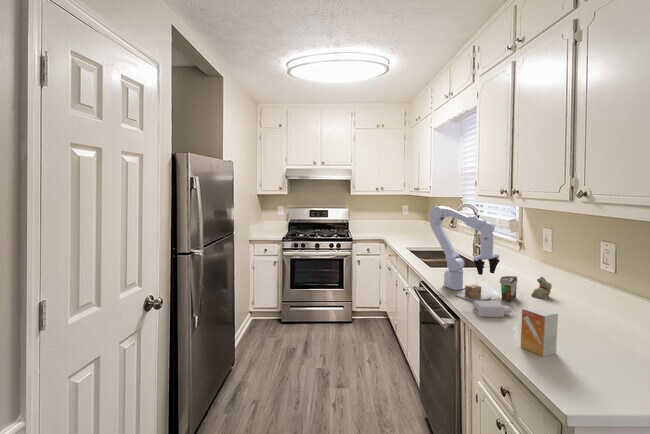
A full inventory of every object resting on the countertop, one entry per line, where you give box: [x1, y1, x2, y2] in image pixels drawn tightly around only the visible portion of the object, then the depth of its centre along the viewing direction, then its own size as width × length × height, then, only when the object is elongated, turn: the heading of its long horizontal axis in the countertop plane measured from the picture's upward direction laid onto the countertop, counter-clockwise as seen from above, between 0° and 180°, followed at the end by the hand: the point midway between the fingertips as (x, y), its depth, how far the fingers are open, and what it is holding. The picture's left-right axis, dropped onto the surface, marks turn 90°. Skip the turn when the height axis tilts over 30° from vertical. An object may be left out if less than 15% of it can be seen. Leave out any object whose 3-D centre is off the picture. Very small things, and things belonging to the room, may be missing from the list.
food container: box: [499, 275, 518, 303], centre depth 175 cm, size 12×6×10 cm, turn 141°
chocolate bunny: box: [530, 275, 553, 299], centre depth 178 cm, size 6×8×10 cm
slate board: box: [454, 292, 492, 303], centre depth 178 cm, size 12×11×1 cm
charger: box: [472, 300, 516, 318], centre depth 154 cm, size 5×9×15 cm
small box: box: [520, 305, 559, 358], centre depth 119 cm, size 8×6×13 cm
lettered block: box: [464, 284, 482, 298], centre depth 177 cm, size 5×5×5 cm
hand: (486, 273), depth 186 cm, fingers open, 7 cm apart
